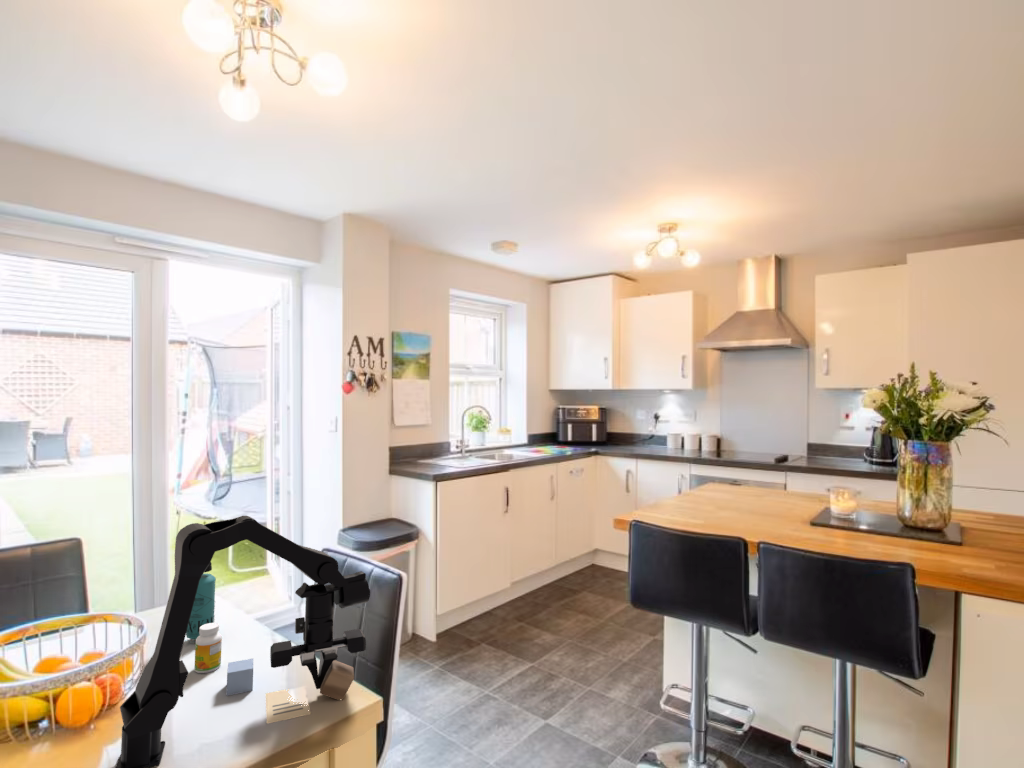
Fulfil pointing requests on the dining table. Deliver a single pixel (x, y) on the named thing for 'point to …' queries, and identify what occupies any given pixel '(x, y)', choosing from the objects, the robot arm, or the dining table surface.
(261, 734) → the dining table surface
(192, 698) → the dining table surface
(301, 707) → the letter
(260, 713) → the dining table surface
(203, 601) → the beverage bottle
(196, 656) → the supplement bottle
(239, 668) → the cube
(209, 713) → the dining table surface
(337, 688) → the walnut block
